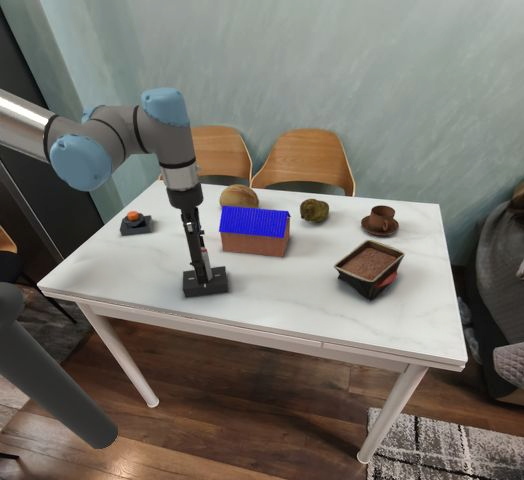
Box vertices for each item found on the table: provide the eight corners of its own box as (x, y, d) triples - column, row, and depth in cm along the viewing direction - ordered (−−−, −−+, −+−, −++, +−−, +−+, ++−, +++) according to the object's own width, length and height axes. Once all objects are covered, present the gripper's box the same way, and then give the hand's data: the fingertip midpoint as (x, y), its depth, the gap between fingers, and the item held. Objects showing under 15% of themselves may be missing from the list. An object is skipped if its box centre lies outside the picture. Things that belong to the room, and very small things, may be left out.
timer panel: (185, 298, 83) (182, 289, 81) (185, 279, 89) (182, 270, 86) (228, 292, 84) (227, 283, 81) (226, 273, 89) (224, 264, 87)
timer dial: (196, 283, 82) (189, 256, 76) (196, 273, 85) (189, 246, 79) (212, 281, 83) (207, 254, 76) (212, 271, 85) (206, 244, 79)
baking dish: (325, 286, 87) (328, 260, 78) (366, 253, 92) (373, 225, 83) (365, 314, 81) (373, 289, 72) (407, 277, 85) (419, 250, 77)
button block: (122, 235, 105) (117, 224, 102) (125, 224, 110) (120, 213, 107) (151, 232, 106) (147, 221, 103) (152, 220, 111) (149, 210, 108)
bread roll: (257, 215, 110) (255, 192, 104) (217, 214, 112) (213, 191, 106) (261, 203, 116) (260, 180, 110) (223, 201, 118) (220, 179, 112)
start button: (128, 221, 104) (126, 216, 102) (129, 216, 106) (127, 211, 105) (138, 220, 104) (137, 215, 103) (139, 215, 106) (138, 210, 105)
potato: (337, 220, 106) (340, 197, 99) (305, 231, 102) (307, 207, 96) (323, 210, 110) (326, 187, 104) (292, 220, 107) (293, 197, 101)
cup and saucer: (404, 233, 99) (411, 215, 94) (373, 242, 96) (378, 223, 92) (382, 216, 106) (387, 199, 101) (352, 224, 104) (356, 206, 99)
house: (283, 257, 93) (284, 221, 84) (221, 251, 97) (215, 215, 88) (290, 236, 100) (291, 201, 91) (232, 231, 104) (228, 196, 95)
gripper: (202, 207, 58) (219, 296, 75) (199, 161, 72) (214, 245, 89) (162, 211, 57) (189, 300, 75) (167, 165, 72) (188, 248, 89)
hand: (202, 270), depth 82 cm, fingers open, 10 cm apart
